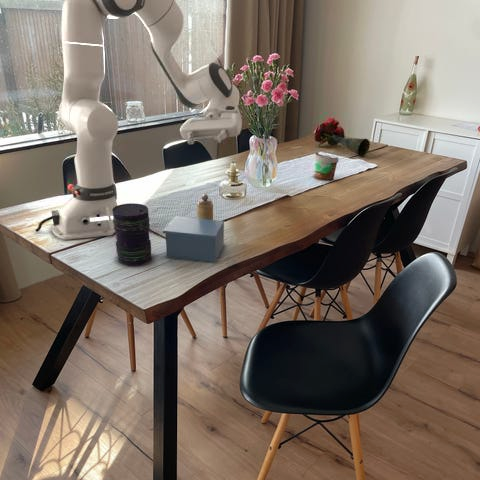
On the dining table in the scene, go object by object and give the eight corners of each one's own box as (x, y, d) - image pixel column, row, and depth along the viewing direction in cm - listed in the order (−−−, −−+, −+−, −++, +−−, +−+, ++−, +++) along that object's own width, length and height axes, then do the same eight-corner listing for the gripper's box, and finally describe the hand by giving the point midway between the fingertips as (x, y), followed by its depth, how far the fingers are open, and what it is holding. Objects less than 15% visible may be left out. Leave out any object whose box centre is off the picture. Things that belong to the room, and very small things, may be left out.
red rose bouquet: (361, 171, 257) (313, 153, 278) (382, 144, 257) (334, 128, 279) (352, 150, 244) (304, 133, 266) (375, 123, 245) (325, 108, 267)
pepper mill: (201, 240, 154) (201, 197, 146) (194, 234, 157) (194, 193, 150) (215, 237, 156) (216, 195, 149) (208, 232, 160) (208, 190, 152)
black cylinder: (112, 264, 137) (106, 213, 129) (124, 250, 145) (119, 201, 137) (146, 267, 136) (142, 217, 128) (156, 253, 144) (153, 204, 136)
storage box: (166, 257, 142) (165, 233, 139) (178, 241, 153) (177, 219, 149) (215, 262, 141) (215, 238, 137) (223, 245, 151) (224, 223, 147)
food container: (305, 176, 218) (308, 153, 213) (314, 174, 222) (317, 151, 216) (326, 183, 211) (329, 159, 205) (335, 180, 214) (339, 157, 209)
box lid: (162, 233, 139) (162, 230, 138) (174, 218, 149) (174, 216, 148) (215, 238, 137) (215, 235, 136) (224, 223, 147) (224, 220, 146)
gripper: (185, 111, 162) (170, 134, 154) (242, 106, 155) (230, 130, 147) (191, 128, 167) (177, 151, 159) (247, 124, 160) (235, 149, 152)
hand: (203, 141), depth 153 cm, fingers open, 8 cm apart
